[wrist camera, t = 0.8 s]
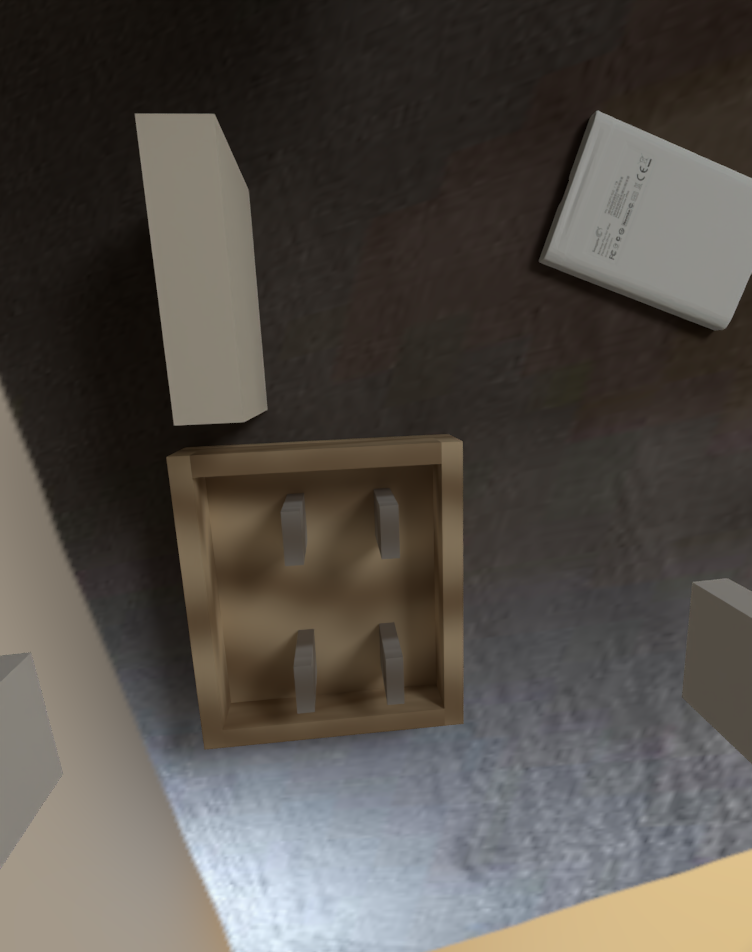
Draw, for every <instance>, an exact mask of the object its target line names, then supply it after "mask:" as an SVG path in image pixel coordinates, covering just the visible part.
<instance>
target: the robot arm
mask: <svg viewBox="0 0 752 952" xmlns="http://www.w3.org/2000/svg"><path fill="white" fill-rule="evenodd" d="M682 698H683V699H684V700H685V701H686V702H688V703H689V704H690V705H691V706H692V707H693V708H694V709H695V710H696V711H697V712H698V713H699V714H700V715H701V716H702V717H703V718H704V719H705V720H706V721H707V722H709V723H710V724H711V725H712V726H713V727H714V728H715V729H716V730H717V731H718V732H719V733H720V734H721V735H722V736H723V737H724V738H725V739H726V740H727V741H728V742H729V743H731V744H732V745H733V746H734V747H735V748H736V749H737V750H738V751H739V752H740V753H741V754H742V755H743V756H744V757H745V758H746V759H747V760H748V761H749V762H750V763H751V764H752V591H750V590H748V589H746V588H744V587H742V586H741V585H739V584H737V583H735V582H733V581H731V580H729V579H728V578H726V579H716V580H707V581H698V582H692V592H691V603H690V614H689V625H688V636H687V648H686V659H685V670H684V681H683V692H682ZM62 774H63V772H62V768H61V764H60V760H59V757H58V753H57V749H56V745H55V741H54V737H53V734H52V730H51V726H50V722H49V718H48V715H47V711H46V707H45V703H44V700H43V696H42V692H41V688H40V684H39V680H38V677H37V673H36V669H35V665H34V661H33V657H32V654H31V653H22V654H12V655H3V656H0V869H1V867H2V866H3V864H4V863H5V861H6V860H7V858H8V856H9V855H10V853H11V851H12V850H13V849H14V847H15V846H16V844H17V843H18V841H19V840H20V838H21V837H22V835H23V834H24V832H25V831H26V829H27V828H28V826H29V824H30V823H31V822H32V820H33V819H34V817H35V816H36V814H37V812H38V811H39V809H40V808H41V806H42V805H43V803H44V802H45V800H46V799H47V797H48V796H49V794H50V793H51V791H52V790H53V788H54V787H55V785H56V784H57V782H58V781H59V779H60V778H61V776H62Z"/></svg>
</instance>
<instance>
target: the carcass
mask: <svg viewBox="0 0 752 952" xmlns="http://www.w3.org/2000/svg"><path fill="white" fill-rule="evenodd" d="M166 459H167V466H168V474H169V482H170V489H171V497H172V505H173V512H174V520H175V527H176V535H177V543H178V550H179V558H180V566H181V573H182V581H183V589H184V596H185V604H186V611H187V619H188V627H189V634H190V642H191V650H192V657H193V665H194V673H195V680H196V688H197V696H198V703H199V711H200V718H201V726H202V734H203V741H204V749H215V748H225V747H235V746H245V745H255V744H265V743H275V742H285V741H295V740H305V739H315V738H325V737H335V736H345V735H355V734H365V733H375V732H385V731H395V730H405V729H415V728H425V727H436V726H446V725H456V724H463V441H461V440H459V439H457V438H455V437H453V436H451V435H449V434H438V435H418V436H399V437H379V438H359V439H340V440H320V441H300V442H281V443H261V444H241V445H222V446H202V447H185V448H183V449H181V450H179V451H177V452H175V453H173V454H171V455H169V456H167V457H166Z"/></svg>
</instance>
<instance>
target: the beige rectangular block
mask: <svg viewBox="0 0 752 952" xmlns="http://www.w3.org/2000/svg"><path fill="white" fill-rule="evenodd" d="M135 120H136V128H137V135H138V143H139V151H140V159H141V167H142V175H143V183H144V191H145V199H146V207H147V215H148V223H149V231H150V239H151V247H152V255H153V262H154V270H155V278H156V286H157V294H158V302H159V310H160V318H161V326H162V334H163V342H164V350H165V358H166V366H167V374H168V382H169V390H170V397H171V405H172V413H173V421H174V426H176V425H197V424H219V423H240V422H246V421H247V420H249V419H251V418H253V417H255V416H257V415H259V414H261V413H263V412H264V411H266V410H267V399H266V387H265V376H264V364H263V352H262V340H261V329H260V317H259V305H258V294H257V282H256V270H255V258H254V247H253V235H252V223H251V212H250V200H249V190H248V188H247V185H246V183H245V181H244V179H243V176H242V174H241V172H240V170H239V167H238V165H237V163H236V161H235V159H234V156H233V154H232V152H231V150H230V147H229V145H228V143H227V141H226V138H225V136H224V134H223V132H222V129H221V127H220V125H219V123H218V121H217V118H216V116H215V114H135Z"/></svg>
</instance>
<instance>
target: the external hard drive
mask: <svg viewBox="0 0 752 952" xmlns="http://www.w3.org/2000/svg"><path fill="white" fill-rule="evenodd" d="M539 262H540V263H542V264H545V265H547V266H550V267H552V268H555V269H557V270H560V271H562V272H565V273H567V274H570V275H572V276H575V277H578V278H580V279H583V280H585V281H588V282H590V283H593V284H596V285H598V286H601V287H603V288H606V289H608V290H611V291H613V292H616V293H619V294H621V295H624V296H626V297H629V298H632V299H634V300H637V301H639V302H642V303H645V304H647V305H650V306H652V307H655V308H657V309H660V310H662V311H665V312H668V313H670V314H673V315H675V316H678V317H681V318H683V319H686V320H688V321H691V322H694V323H696V324H699V325H701V326H704V327H707V328H709V329H712V330H723V329H725V328H726V327H727V326H728V324H729V323H730V321H731V319H732V317H733V314H734V312H735V309H736V307H737V305H738V303H739V300H740V298H741V296H742V294H743V291H744V289H745V287H746V284H747V282H748V279H749V277H750V275H751V273H752V178H750V177H747V176H745V175H743V174H740V173H738V172H736V171H734V170H731V169H729V168H727V167H725V166H722V165H720V164H718V163H715V162H713V161H711V160H709V159H706V158H704V157H702V156H699V155H697V154H695V153H693V152H691V151H688V150H686V149H684V148H681V147H679V146H677V145H675V144H672V143H670V142H668V141H665V140H663V139H661V138H659V137H656V136H654V135H652V134H649V133H647V132H645V131H642V130H640V129H638V128H636V127H633V126H631V125H629V124H627V123H624V122H622V121H620V120H617V119H615V118H613V117H611V116H609V115H607V114H604V113H602V112H600V111H596V112H595V113H594V114H593V115H592V116H591V117H590V119H589V122H588V125H587V128H586V130H585V133H584V136H583V139H582V142H581V144H580V147H579V150H578V153H577V156H576V158H575V161H574V164H573V167H572V170H571V172H570V175H569V182H568V185H567V188H566V190H565V193H564V196H563V199H562V201H561V203H560V204H559V206H558V208H557V211H556V214H555V217H554V220H553V222H552V225H551V228H550V231H549V233H548V236H547V239H546V242H545V244H544V247H543V250H542V253H541V255H540V258H539Z"/></svg>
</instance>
